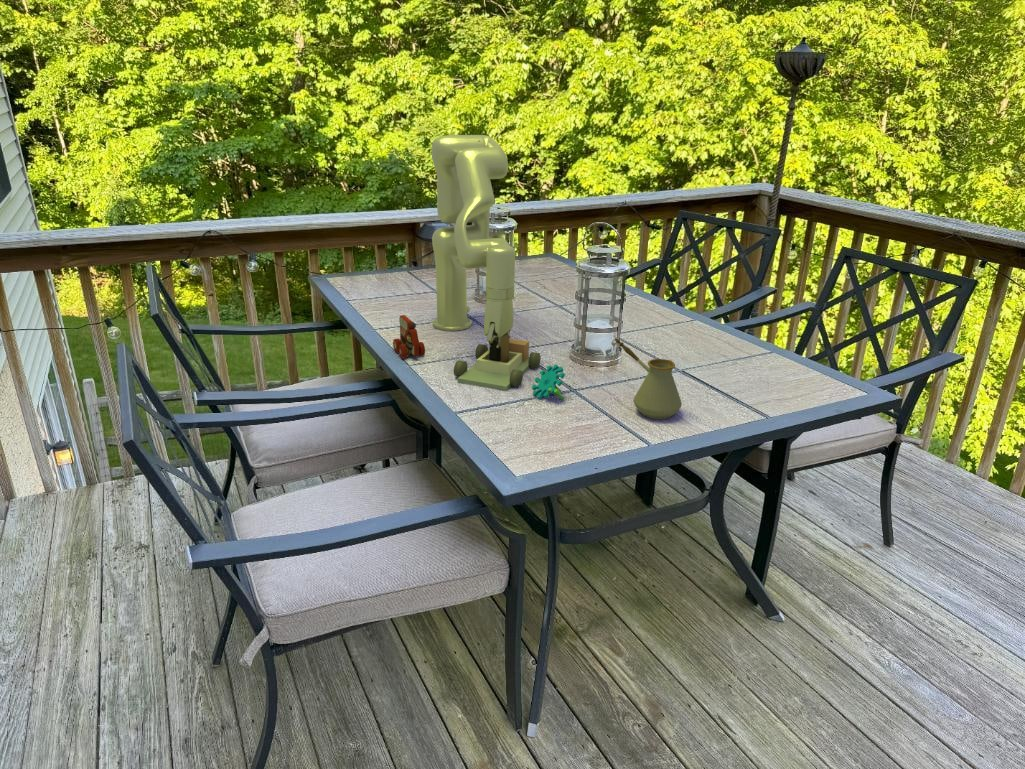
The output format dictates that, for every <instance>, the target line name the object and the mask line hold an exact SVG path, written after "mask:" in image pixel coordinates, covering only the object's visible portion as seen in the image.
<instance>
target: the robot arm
mask: <svg viewBox="0 0 1025 769" xmlns="http://www.w3.org/2000/svg"><path fill="white" fill-rule="evenodd" d="M430 154H431V160H432V162H433V166H434V170H435V172H436V185H437V186H436V187H437V188H436V200H437V201H436V203H437V204H436V206H437V208H436V211H437V217H438V219H439V220H440V221H441V222H443V223H445V224H454V225H449V226H443V227H440V228H439V227H438V228H437V229H436V230H434V232H433V234H432V237H431V244H432V250H433V254H434V262H435V279H436V280H435V281H436V284H435V285H436V311H437V312H436V318H434V319H433V320H432V326H433V327H434V328H435V329H437V330H440V331H448V332H451V331H452V332H457V331H462V330H466V329H467V330H468V328H470V327H471V326H472V324H473V322H472V320H471V319H470V318H469V317H468V313H469V312H470V311H471V308H470V307H469V305H467V303H468V301H467V297H468V296H467V294H468V293H467V269H469V270H470V269H482V268H484V269H485V299H486V302H485V306H484V320H483V334H484V336H486V341H487V342H488V347H489V348H488V350H489V359H490V360H493V361H501V347H500V340H501V336H503V335H504V334H505V333H507V334H509V339H511V335H510V333H511V329H512V328H513V324H514V303H513V302H514V301H513V300H514V299H515V275H516V273H515V271H516V268H515V267H516V250H515V248H514V247H513V246H511V245H510V244H509V243H508V241H507V240H506V239H504V238H500V237H495V238H489V236H490V209H491V208H492V207H493V206H494V204H495V196H494V195H495V194H494V191H493V186H492V182H491V180H500V179H503V178H505V177H506V175H507V173H508V170H509V162H508V158H507V154H506V152H505V150H504V149H503V147H501V145H500V144H499V143H498V142H496V140H494V139H493V138H492V137H491V136H489V135H485V134H467V135H466V134H451V135H441V136H438V137H436V138H435V139H434V140H433V141H432V143H431V153H430ZM468 223H471V224H470V225H469V224H468ZM467 224H468V225H467ZM494 333H496V334H498V335H497V336H496V335H494ZM494 338H497V342H496V340H494Z"/></svg>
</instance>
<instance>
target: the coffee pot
mask: <svg viewBox="0 0 1025 769" xmlns="http://www.w3.org/2000/svg"><path fill="white" fill-rule="evenodd" d="M614 341H615V343H614ZM616 344H618V345H619V347H620V348H622V349H623V351H624V352H625V353H626V354H627V355H628V356H630V357H631V358H632V359H634V361H636V362H638V364H639V365H640V366H641V367H642V368H644V370H645V371H646V372H647V374H646V377H645V378H644V380H643V382H642V383H641V385H640V387H639V388H638V390H637V391H636V394H635V395H634V398H633V404H634V406H635V408H636V409H637V410H638V411H639V412H640V413H641V415H643V416H644V417H647V418H649V419H653V420H665V419H670V418H671V417H672V416H674V415H675V414H677V413H678V412H679V411H680V409H681V407H682V403H683V402H682V400H681V396H680V393H679V391H678V388H677V386H676V384H677V383H676V382H675V378H674V376H673V369H675V367H676V364H675V361H673V360H671V359H666V358H665V359H664V358H653V359H650V360H649V361H647V364H645V363H644V362H643V361H642V360H641V359H640V358H639V357H638V356H637V355H636V354H635V353H634V351H632V349H630V348H629V347H628V346H626V345H625V344H624V342H623V341H620V339H618V338H617V337H616V338H614V339H613V340H612V341H611V345H612V346H615V345H616Z"/></svg>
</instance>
